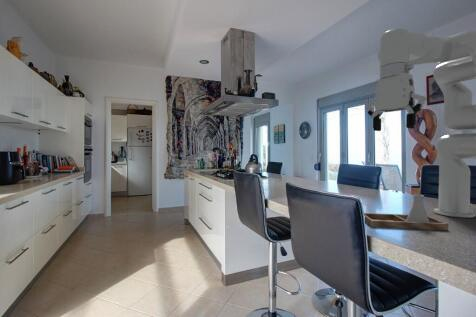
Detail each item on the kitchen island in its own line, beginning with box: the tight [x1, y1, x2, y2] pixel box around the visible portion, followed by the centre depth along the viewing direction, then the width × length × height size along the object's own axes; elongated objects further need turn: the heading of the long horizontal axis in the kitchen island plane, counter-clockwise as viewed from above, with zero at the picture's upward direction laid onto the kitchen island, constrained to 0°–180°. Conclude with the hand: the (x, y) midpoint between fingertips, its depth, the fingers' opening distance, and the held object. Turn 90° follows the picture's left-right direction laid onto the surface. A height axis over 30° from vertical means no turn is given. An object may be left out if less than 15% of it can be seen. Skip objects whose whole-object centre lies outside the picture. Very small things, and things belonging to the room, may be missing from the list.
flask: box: [406, 194, 430, 223], centre depth 88 cm, size 7×7×10 cm
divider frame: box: [363, 212, 449, 231], centre depth 89 cm, size 22×12×2 cm, turn 81°
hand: (392, 129), depth 79 cm, fingers open, 9 cm apart
